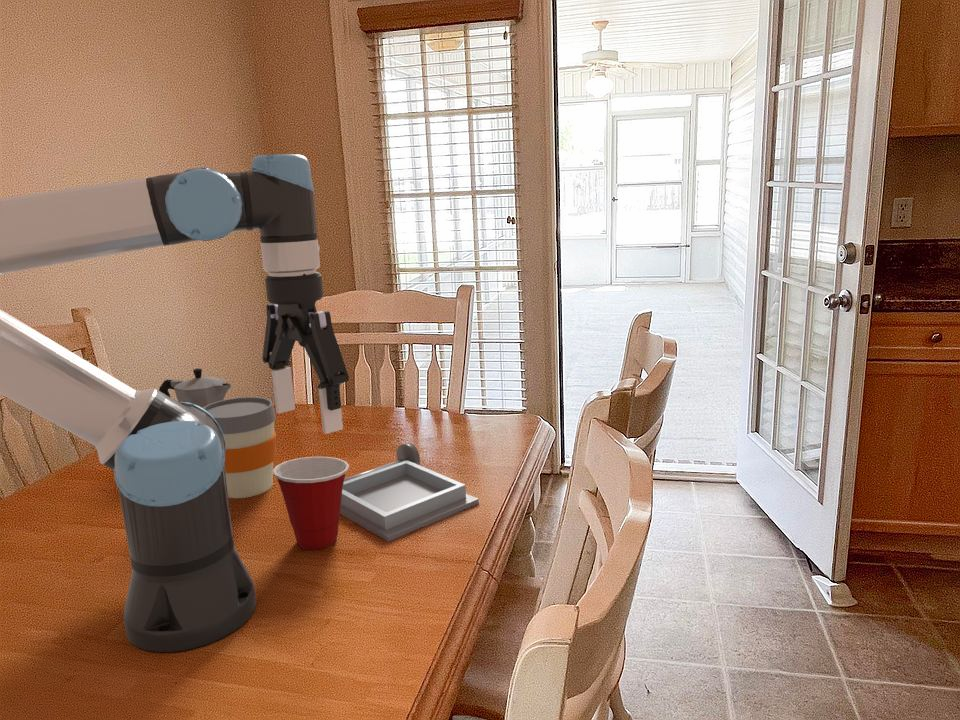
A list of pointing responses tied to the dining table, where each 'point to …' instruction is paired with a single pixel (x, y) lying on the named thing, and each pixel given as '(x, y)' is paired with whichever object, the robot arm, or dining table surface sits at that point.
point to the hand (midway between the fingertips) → (308, 420)
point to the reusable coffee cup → (247, 443)
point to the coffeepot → (197, 389)
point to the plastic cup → (313, 498)
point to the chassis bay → (401, 496)
